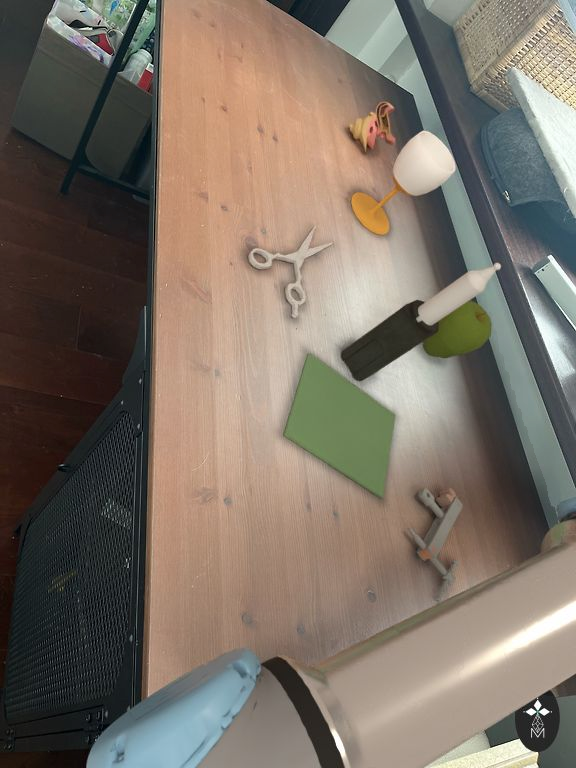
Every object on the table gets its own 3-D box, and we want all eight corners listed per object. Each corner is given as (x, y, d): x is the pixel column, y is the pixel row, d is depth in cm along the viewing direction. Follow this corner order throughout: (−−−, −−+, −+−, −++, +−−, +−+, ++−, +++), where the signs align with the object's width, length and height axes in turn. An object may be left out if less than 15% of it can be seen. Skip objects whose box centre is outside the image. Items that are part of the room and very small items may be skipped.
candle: (337, 353, 87) (479, 249, 70) (357, 343, 91) (496, 243, 73) (357, 383, 87) (504, 287, 69) (376, 372, 90) (520, 278, 73)
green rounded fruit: (441, 334, 106) (496, 299, 98) (450, 377, 102) (509, 343, 94) (405, 319, 101) (460, 281, 93) (414, 363, 97) (471, 327, 89)
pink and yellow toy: (344, 149, 116) (354, 94, 113) (345, 153, 125) (355, 103, 123) (393, 157, 115) (404, 102, 112) (390, 161, 125) (400, 110, 122)
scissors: (242, 258, 82) (304, 205, 97) (239, 262, 83) (301, 208, 97) (296, 316, 84) (350, 255, 98) (293, 319, 84) (346, 258, 99)
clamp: (438, 470, 85) (482, 526, 86) (426, 476, 87) (470, 530, 87) (395, 541, 74) (447, 604, 75) (383, 545, 76) (433, 607, 76)
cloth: (380, 498, 79) (383, 497, 79) (283, 435, 74) (285, 434, 74) (393, 415, 88) (395, 414, 88) (307, 354, 83) (309, 352, 83)
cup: (396, 230, 113) (465, 171, 102) (371, 239, 106) (442, 177, 95) (368, 190, 113) (434, 127, 102) (342, 196, 107) (409, 130, 96)
